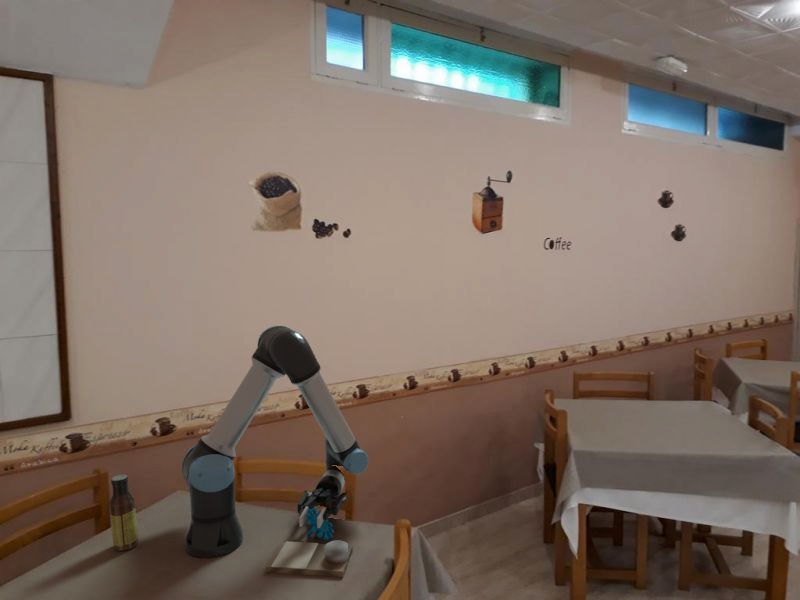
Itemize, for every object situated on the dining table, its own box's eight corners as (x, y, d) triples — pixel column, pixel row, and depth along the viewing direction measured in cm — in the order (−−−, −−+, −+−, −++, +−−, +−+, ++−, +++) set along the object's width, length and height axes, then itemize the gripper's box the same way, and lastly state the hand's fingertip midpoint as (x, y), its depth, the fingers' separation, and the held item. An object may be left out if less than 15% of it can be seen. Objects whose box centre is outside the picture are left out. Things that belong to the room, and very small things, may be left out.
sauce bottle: (139, 538, 158) (136, 470, 156) (136, 550, 152) (132, 479, 150) (114, 542, 156) (110, 473, 154) (110, 554, 150) (105, 482, 148)
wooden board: (265, 572, 141) (265, 555, 141) (280, 546, 153) (280, 531, 153) (343, 577, 139) (342, 559, 139) (352, 551, 151) (352, 535, 150)
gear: (327, 542, 152) (304, 513, 154) (312, 555, 153) (289, 526, 155) (341, 528, 163) (319, 501, 165) (327, 540, 164) (306, 513, 166)
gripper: (357, 499, 176) (340, 537, 152) (303, 496, 178) (279, 533, 155) (357, 476, 175) (340, 511, 152) (303, 473, 177) (278, 507, 154)
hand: (309, 522), depth 153 cm, fingers closed on gear, 4 cm apart
